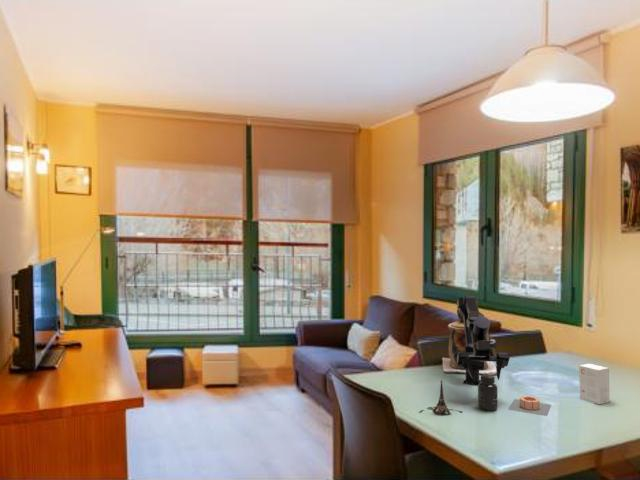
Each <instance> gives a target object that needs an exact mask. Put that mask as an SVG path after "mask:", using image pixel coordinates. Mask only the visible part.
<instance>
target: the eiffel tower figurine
mask: <svg viewBox="0 0 640 480" xmlns="http://www.w3.org/2000/svg"><path fill="white" fill-rule="evenodd" d="M440 379H441V380H440V392H439V398H438V402H437V404H436V405H435V406H428V407H427V408H426V410H429V411H431V412H432V413H434V414H435V416H437V417H444V416H452V415H453V414H452V413H451V411H453V409H451V408H448V405H446V402H445V398H444V389H443V388H444V387H443V379H442V377H441V378H440ZM454 411H456V412H459V413H460V414H463V412H464V411H462V410H456V409H454ZM423 412H425V409H421V410H420V411H418V413H419V414H422V413H423Z"/></svg>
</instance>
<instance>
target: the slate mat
mask: <svg viewBox="0 0 640 480" xmlns="http://www.w3.org/2000/svg"><path fill="white" fill-rule="evenodd" d="M551 407H552V404H549V403H541V402H540V409H539V410H527V409H523V408H521V407H520V399H517V398H514V399H513V400H512V402H511V404H510V406H509V407H508V409H507V410H509V411H515V412H521V413H526V414H531V415H538V416H544V417H548V415H549V412H550V409H551Z"/></svg>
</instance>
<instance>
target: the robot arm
mask: <svg viewBox="0 0 640 480" xmlns="http://www.w3.org/2000/svg"><path fill="white" fill-rule="evenodd" d="M456 308H457V309H458V308H459V313H460V315H461V316H462V317H463V320H464V329H465V338H466V349H465V351H464V352H459V353H458V355H457V364H458V365H461V367H462V368H463V369H466V373H465V380H463V384H468V385H476V386H478V385H479V383H481V379H480V374H479V369H480V370H483V369H484V362H485V361H486V362H493V363H495V364H496V366H495V367H496V371H497V373H496V378H497V381H499V380H500V378H501V371H502V369H504V368H505V367H508V365H509V362H510V359H511V358H510V355H509V354H508V352H497V354H496V355H495V356H494V355H491V354H492V349H495V350H496V348H497V343H496V342H497V341H496V339H494V338H493V339H490V338H489V341H487V336H486V335H487V334H489V329H490V326H491V320H490V319H489V318H487V317H485V314H483V313H482V312H480V310H479V307H478V298H477V297H476V295H463V297H462V296H461V297H460V298H457V300H456Z"/></svg>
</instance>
